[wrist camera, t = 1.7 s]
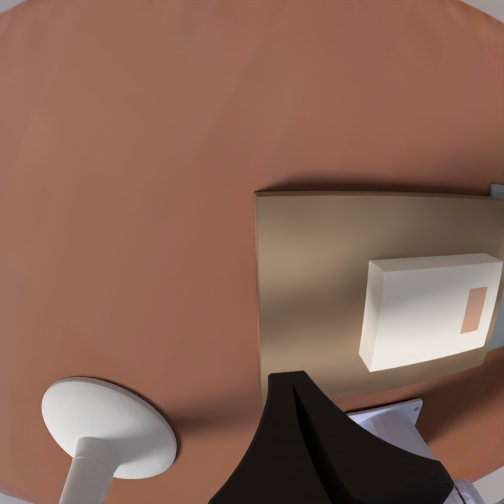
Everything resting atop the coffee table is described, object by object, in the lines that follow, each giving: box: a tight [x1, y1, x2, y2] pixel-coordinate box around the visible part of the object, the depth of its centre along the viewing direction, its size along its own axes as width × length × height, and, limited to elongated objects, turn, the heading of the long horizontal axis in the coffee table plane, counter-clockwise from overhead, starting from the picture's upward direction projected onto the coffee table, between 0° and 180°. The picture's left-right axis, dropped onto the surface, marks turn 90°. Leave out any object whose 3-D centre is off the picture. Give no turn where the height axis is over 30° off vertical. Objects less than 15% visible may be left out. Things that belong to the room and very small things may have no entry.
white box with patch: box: [359, 253, 503, 372], centre depth 17 cm, size 9×6×2 cm, turn 92°
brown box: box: [254, 191, 504, 406], centre depth 19 cm, size 13×18×3 cm
